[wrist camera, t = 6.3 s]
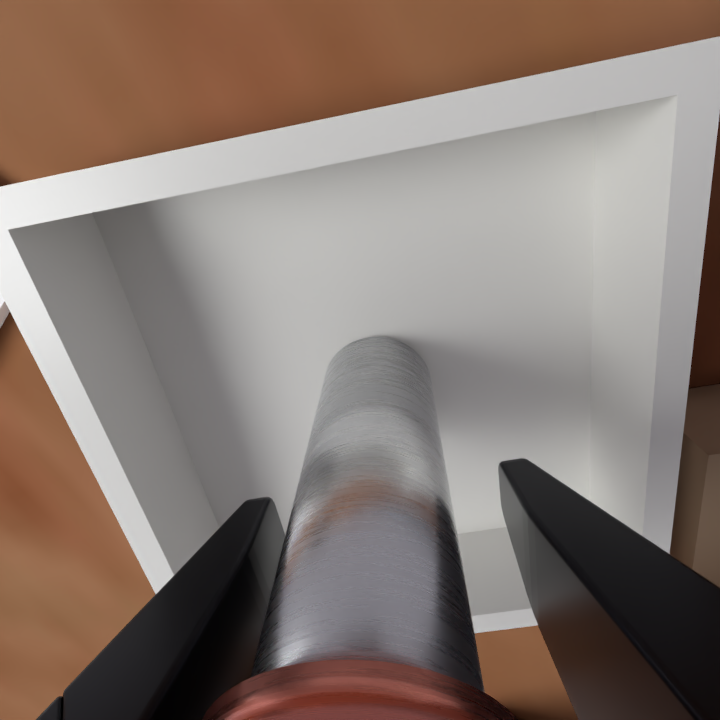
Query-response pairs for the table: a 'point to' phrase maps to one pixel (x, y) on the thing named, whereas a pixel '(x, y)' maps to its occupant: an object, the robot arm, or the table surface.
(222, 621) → the robot arm
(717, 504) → the block
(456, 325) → the tray
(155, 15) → the table surface
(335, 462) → the pin
